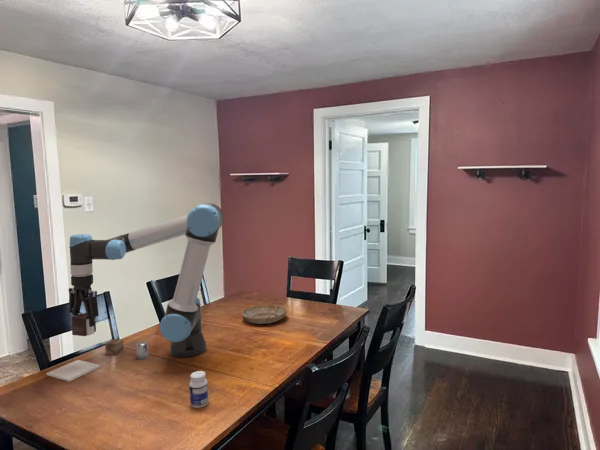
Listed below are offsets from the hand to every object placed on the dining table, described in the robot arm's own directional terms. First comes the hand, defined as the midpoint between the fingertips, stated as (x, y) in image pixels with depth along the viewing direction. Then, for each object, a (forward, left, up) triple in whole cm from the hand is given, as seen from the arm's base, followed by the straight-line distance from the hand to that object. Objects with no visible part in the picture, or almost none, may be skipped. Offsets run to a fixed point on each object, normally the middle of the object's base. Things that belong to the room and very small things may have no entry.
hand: (84, 332), depth 159 cm
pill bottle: (-59, +4, -14) cm, 61 cm away
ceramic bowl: (-36, -76, -15) cm, 85 cm away
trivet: (+2, +4, -14) cm, 15 cm away
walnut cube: (+2, -15, -14) cm, 21 cm away
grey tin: (-13, -16, -14) cm, 25 cm away
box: (0, 0, -1) cm, 1 cm away
